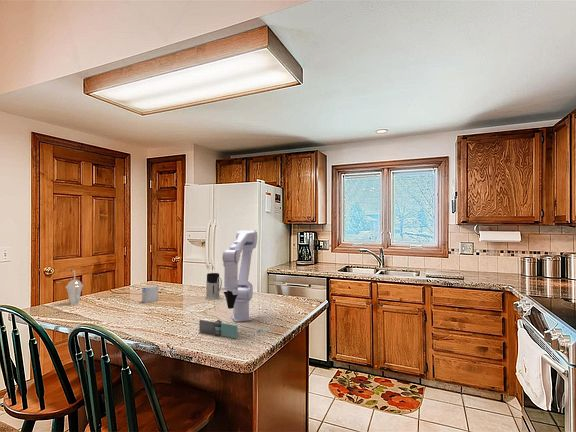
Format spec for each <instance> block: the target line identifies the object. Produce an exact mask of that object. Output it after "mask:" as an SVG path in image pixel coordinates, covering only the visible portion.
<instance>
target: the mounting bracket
mask: <svg viewBox="0 0 576 432" xmlns="http://www.w3.org/2000/svg"><path fill="white" fill-rule="evenodd" d="M270 329H271V328H269V327H264V326H258V327H256V328H255V329H254V330H256V332H258V333H261V332H262V333H264V332H265V333H267V332H268V331H270Z"/></svg>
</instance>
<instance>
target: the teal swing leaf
mask: <svg viewBox="0 0 576 432" xmlns="http://www.w3.org/2000/svg"><path fill="white" fill-rule="evenodd" d="M238 326H239V325H236V324H231V323H226V322H222V323H221V326H220V327H216V326H215V331H217V332H219V331H221V336H222V337H227V338H231V339H235V340H236V339H238V334H239V332H238V330H239V329H238V328H239V327H238Z"/></svg>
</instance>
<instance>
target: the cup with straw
mask: <svg viewBox="0 0 576 432" xmlns="http://www.w3.org/2000/svg"><path fill="white" fill-rule="evenodd" d="M70 271H71V272H73V279H72V280H70V281H69V282H68V283H67V284H66V286H65V289H66V291H67V295H68V304H69V306H77V305H79V304H80V300H81V299H80V298H81V292H82V289H83V287H84V284H82V282H81V281H80V280H78V279H76V270H73V269H71V270H70Z"/></svg>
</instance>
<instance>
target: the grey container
mask: <svg viewBox="0 0 576 432" xmlns="http://www.w3.org/2000/svg"><path fill="white" fill-rule="evenodd" d="M222 282H223V280H222V278H221V277H220V273H219V272H210V273H206V282H205V283H206V289H205V291H206V292H205V293H206V294H205V295H206V296H205V300H207V301H215V300H219V299H221V296H220V292H221V290H222V287H223V285H222V284H223V283H222Z"/></svg>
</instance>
